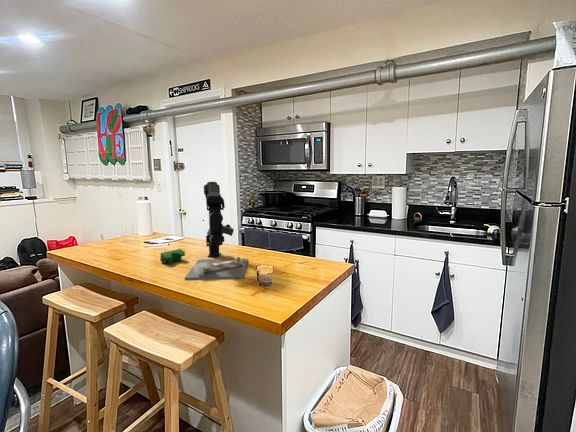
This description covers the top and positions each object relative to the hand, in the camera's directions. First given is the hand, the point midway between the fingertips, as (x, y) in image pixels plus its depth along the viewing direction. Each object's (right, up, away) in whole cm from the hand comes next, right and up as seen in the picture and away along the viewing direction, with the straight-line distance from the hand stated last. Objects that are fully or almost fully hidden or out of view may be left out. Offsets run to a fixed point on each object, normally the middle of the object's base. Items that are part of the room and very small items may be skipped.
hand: (216, 252), depth 153 cm
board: (+1, -8, +2) cm, 9 cm away
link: (+3, -7, 0) cm, 8 cm away
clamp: (-27, -7, +15) cm, 31 cm away
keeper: (-4, -10, -7) cm, 13 cm away
